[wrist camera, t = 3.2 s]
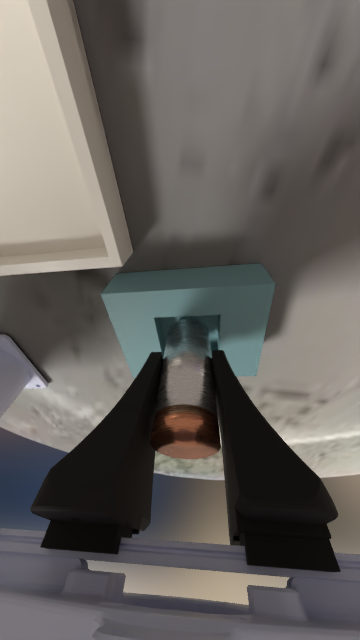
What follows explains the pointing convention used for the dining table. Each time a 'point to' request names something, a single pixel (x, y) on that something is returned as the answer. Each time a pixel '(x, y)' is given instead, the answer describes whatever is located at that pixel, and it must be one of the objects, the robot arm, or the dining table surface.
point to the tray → (53, 148)
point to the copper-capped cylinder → (186, 395)
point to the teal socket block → (192, 310)
